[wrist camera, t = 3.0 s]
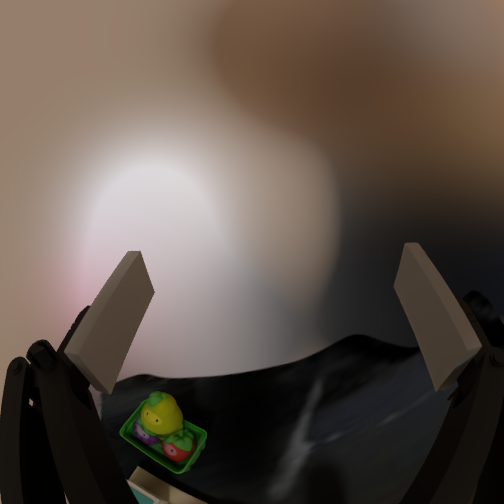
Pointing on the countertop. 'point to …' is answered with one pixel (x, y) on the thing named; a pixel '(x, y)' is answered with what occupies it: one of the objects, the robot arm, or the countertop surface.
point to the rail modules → (145, 495)
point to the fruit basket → (164, 433)
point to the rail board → (162, 488)
